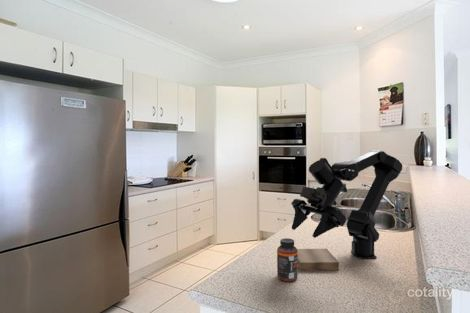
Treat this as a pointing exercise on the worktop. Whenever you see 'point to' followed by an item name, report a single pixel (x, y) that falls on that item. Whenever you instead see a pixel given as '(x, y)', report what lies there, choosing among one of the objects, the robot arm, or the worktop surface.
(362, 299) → the worktop surface
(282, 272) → the supplement bottle
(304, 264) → the walnut plinth
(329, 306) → the worktop surface
